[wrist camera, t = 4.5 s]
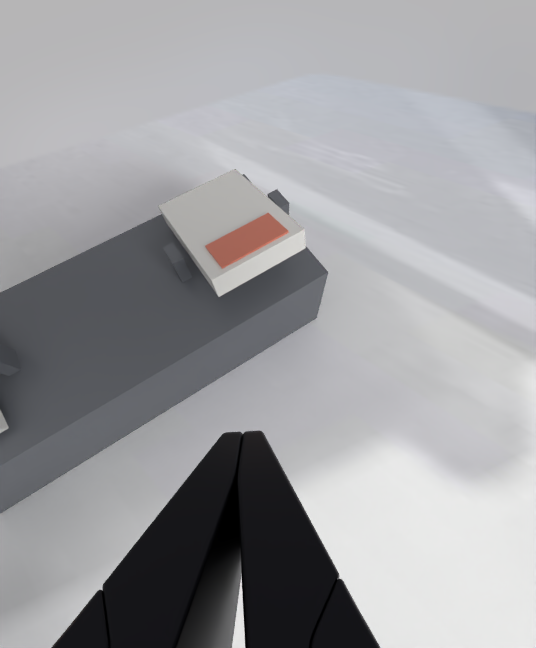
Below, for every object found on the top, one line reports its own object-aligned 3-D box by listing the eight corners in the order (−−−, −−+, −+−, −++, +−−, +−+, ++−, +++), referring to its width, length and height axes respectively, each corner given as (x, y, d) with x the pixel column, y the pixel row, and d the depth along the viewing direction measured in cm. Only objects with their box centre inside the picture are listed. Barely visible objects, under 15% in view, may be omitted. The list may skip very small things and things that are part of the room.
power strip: (316, 317, 23) (333, 252, 16) (-4, 515, 19) (-180, 548, 11) (249, 232, 26) (238, 146, 19) (-36, 383, 22) (-189, 344, 15)
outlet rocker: (305, 248, 16) (304, 227, 15) (218, 297, 15) (210, 278, 14) (239, 187, 20) (234, 167, 19) (166, 223, 19) (157, 204, 18)
